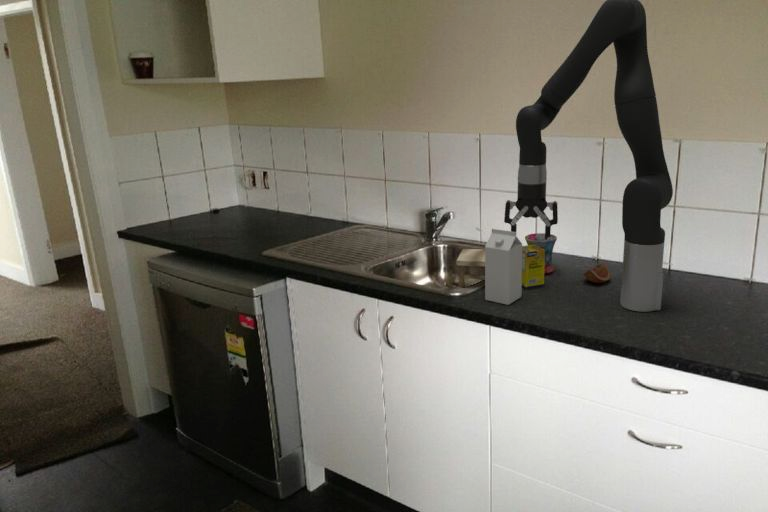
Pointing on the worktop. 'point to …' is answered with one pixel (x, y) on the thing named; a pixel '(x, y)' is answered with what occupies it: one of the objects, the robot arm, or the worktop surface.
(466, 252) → the stool
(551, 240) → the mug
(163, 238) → the worktop surface
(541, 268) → the supplement box
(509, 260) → the white milk carton
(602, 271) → the fruit slice
